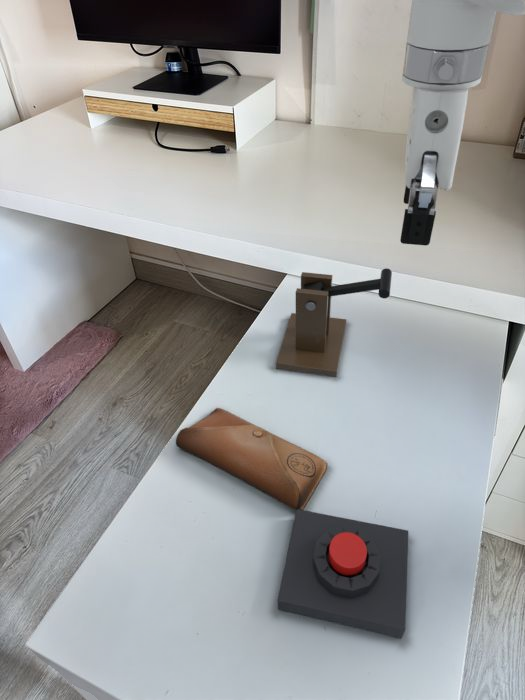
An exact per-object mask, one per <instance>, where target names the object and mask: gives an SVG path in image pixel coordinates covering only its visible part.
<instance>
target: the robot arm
mask: <svg viewBox="0 0 525 700" xmlns="http://www.w3.org/2000/svg"><path fill="white" fill-rule="evenodd" d="M497 13H500V14H503V15H507V16H525V0H411V6H410V15H409V21H408V29H407V37H406V43H405V44H406V46H405V52H404V53H405V54H404V60H403V67H402V76H401V81H402V82H403V83H404V84H405V85H407V86H410V87H411V88H412V93H411V99H410V100H411V101H410V107H409V114H408V123H407V131H406V132H407V133H406V143H405V158H404V159H405V165H404V186H405V188H404V189H405V190H404V194H403V204H405V205H407V208H404V216H403V221H402V227H401V234H400V243H401V244H403V245H415V246H429V245H430V243H431V239H432V234H433V228H434V225H435V220H436V213H437V211H436V207H437V206H436V205H437V197H438V191H439V189H440V190H444V191H445V192H448V191H449V190H451V189H452V187H453V182H454V177H455V170H456V165H457V160H458V155H459V151H460V150H459V149H460V145H461V140H462V139H461V138H462V133H463V128H464V123H465V118H466V111H467V104H468V98H469V97H468V96H469V89H471V88H474V87H476V86H478V85H479V84H481V81H482V77H483V72H484V70H485V69H484V68H485V64H486V60H487V55H488V51H489V47H490V43H491V39H492V33H493V30H494V26H495V25H494V24H495V21H496V16H497Z"/></svg>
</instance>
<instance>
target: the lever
mask: <svg viewBox="0 0 525 700" xmlns="http://www.w3.org/2000/svg"><path fill="white" fill-rule="evenodd" d="M392 275H393V273H392V270H391V269H390V268H387V267H386V268H383V269H382V270H381V272H380V278H377V279H369V280H361V281H356V282H350V283H343V284H336V285H332V286H329V287H324V284H323V281H320V282H314V283H308V284H304V285H303V289H309V290H319V291H328V292H329V294H328V297H331V298H332V297H338V296H343V295H350V294H355V293H356V294H358V293H363V292H371V291H377V290H378V297H379V298H381V299H387V298H389V297H390V295H391V286H392V285H391V284H392Z"/></svg>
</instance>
